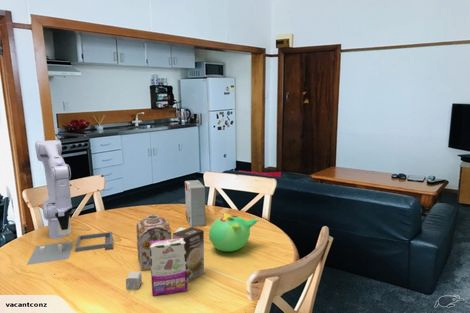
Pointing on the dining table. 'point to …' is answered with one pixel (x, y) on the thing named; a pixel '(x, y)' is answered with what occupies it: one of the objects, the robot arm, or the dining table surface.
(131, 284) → the usb wall charger
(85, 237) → the parts tray
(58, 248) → the panel
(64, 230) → the block
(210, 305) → the dining table surface
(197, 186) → the hard drive box
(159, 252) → the candy bar box
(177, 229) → the seamed sphere
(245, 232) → the toy bird
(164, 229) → the decorative jar
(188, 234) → the coffee box
